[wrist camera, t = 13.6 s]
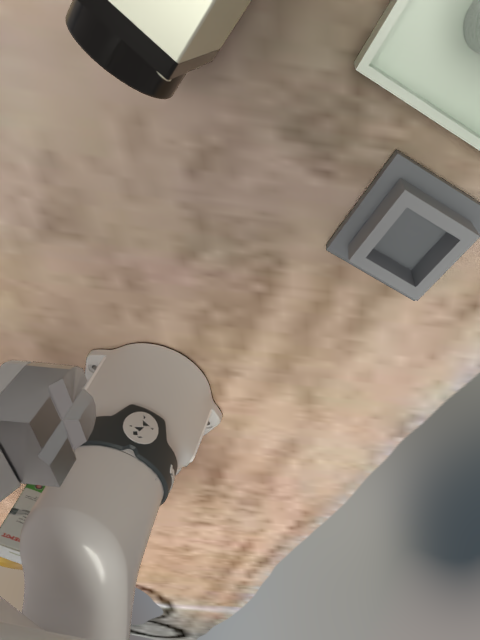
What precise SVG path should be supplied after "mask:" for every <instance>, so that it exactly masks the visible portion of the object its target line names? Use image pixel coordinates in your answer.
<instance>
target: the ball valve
mask: <svg viewBox="0 0 480 640" xmlns="http://www.w3.org/2000/svg"><path fill="white" fill-rule="evenodd" d="M250 2H251V0H72V3H71V5H70V8H69V10H68V12H67V15H66V25H67V27H68V29H69V31H70V33H71V35H72V36H73V38H74V39H75V40H76V42H77V43H78V44H79V45H80V46H81V48H82V49H83V50H84V51H85V52H86V53H87V54H88V55H89V56H90V57H91V58H92V59H93V60H94V61H96V62H97V63H98V64H99V65H100V66H101V67H103V68H104V69H105V70H106V71H108V72H109V73H110V74H112V75H113V76H115V77H116V78H117V79H119V80H120V81H122V82H123V83H125V84H127V85H128V86H130V87H132V88H133V89H135V90H137V91H139V92H141V93H143V94H146V95H148V96H151V97H154V98H159V99H168V98H170V97H172V96H173V94H174V92H175V91H176V89H177V88H178V86H179V84H180V83H181V81H182V80H183V78H184V76H185V75H186V73H187V72H189V71H191V70H194V69H196V68H197V69H198V68H200V66H203V65H205V64H207V63H210V62H212V61H213V59H214V58H215V56H216V54H217V53H218V51H219V50H220V48H221V47H222V45H223V44H224V42H225V41H226V39H227V38H228V36H229V34H230V33H231V31H232V30H233V28H234V27H235V25H236V24H237V22H238V21H239V19H240V17H241V16H242V14H243V13H244V11H245V10H246V8H247V7H248V5H249V4H250Z"/></svg>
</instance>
